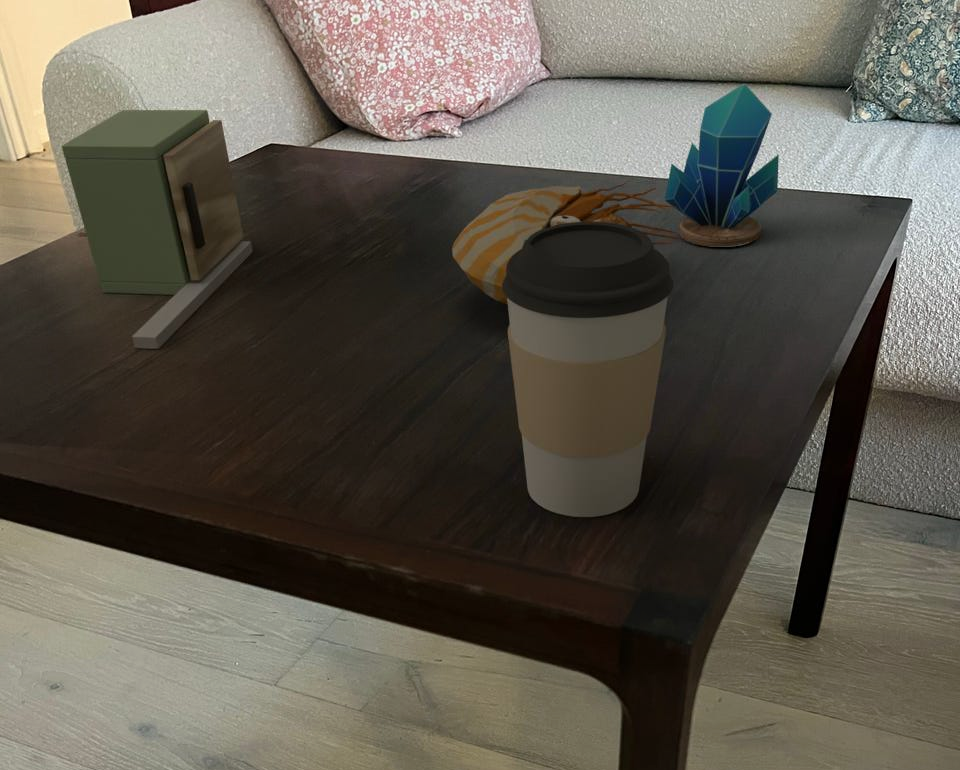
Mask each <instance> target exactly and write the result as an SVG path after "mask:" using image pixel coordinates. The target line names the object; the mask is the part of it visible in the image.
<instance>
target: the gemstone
mask: <svg viewBox="0 0 960 770" xmlns="http://www.w3.org/2000/svg"><path fill="white" fill-rule="evenodd" d="M702 115H703V116H702V120H701V123H700V128H699V140H698V141H699V142H698V148H697V147H696V145H695V144H694V142H691V145H690V149H689V151H688V154H687V158H686V161H685V165H684V169H683V171H682V169H679V167H677V166H676V165H674V164H673V163H671V165H670V170H669V175H668V180H667V185H666V190H665V195H664V200H663V201H665V202H666V203H668V204H669V206H674V207H676V208H677V209H676V210H677V211H679V212H680V213H681V214H682V215H684V216H685V217H686V218H684V219H683V220H682V221H681V222H680V223H679V229H678V233H679V236H680V238H681V239H683V238H684V239H685V240H687V241H689V242H692V243H695V244H698V245H704V246H715V247H716V246H721V247H722V246H732V245H733V246H734V245H739V244H744V243H747V242H751V241H753V240H755V239H756V238H757V239H758V238H759V237H760V236H759V235H761V230H762V229H761V228H762V225H761V224H760V222H759V221H758V220H757V219H755V218H754V217H752V216H751V215H752V214H753V213H755V212H756V211H757V210H759V209H760V208H761V207H762V206H763V204H765V202H766V201H768V200H769V199H770V198H772V197H773V196H774V195H776V194H777V193H778V189H779V188H778V186H779V185H778V184H779V161H780V158H779V157H780V156H779V155H780V154H777V155H776V156H774V157H773V158H772V159H771V160H769V161H768V162H767V163H766V164H764V165H762V167H761V168H759V169H758V170H757V171H756V172H755V173H753V174H752V175H750V177H749V174H750V173H751V170H752V167H753V165H754V164H755V161H756V159H757V156H758V154H759V152H760V149H761V146H762V143H763V140H764V137H765V135H766V132H767V130H768V127H769V124H770V121H771V118H772V115H773V113H772V112H771V111H770V110H769V109H768V108H767V106H766V105H765V104H764V103H763V102H762V101H761V100H760V99H759V98H758V97H757V95H756V94H755V93H754V92H753V91H752V90H751V89H750V88H749V87H748V86H747V84H746V83H742V84H741V85H739V86H738V87H736V88H735V89H732V90H731V91H729V92H728V93H727V94H725V95H723V96H722V97H720V98H718V99H717V100H715V101H714V102H712V103H711V104H709V105H707V106H706V107H704V110H703V114H702ZM758 236H759V237H758ZM684 239H683V240H684ZM757 239H756V240H757ZM685 240H684V241H685ZM756 240H755V241H756ZM687 241H686V242H687ZM689 242H688V243H689Z"/></svg>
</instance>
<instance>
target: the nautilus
mask: <svg viewBox="0 0 960 770" xmlns="http://www.w3.org/2000/svg"><path fill="white" fill-rule="evenodd" d="M630 181H631V180H629V179H628V180H626V181H624V182H623V183H622V184H618V185H616V186H613V187H610V188H599V189H596V190H592V191H587V192H582V189H581V186H560V185H553V186H550V187H546V188H532V189H526V190H520V191H516V192H511V193H507V194H506V195H503V196H502V197H500V198H499V199H497V200H495V201H493V202H491V203H490V204H489V205H488V206H487V207H486V208H485V209H484V210H483V211H482V212H481V213H480V214H478V216H476V217H475V218H473V220H471V221H470V222H469V223H468V224H467V225H466V226H465V227H464V228H463V229H462V231H461V232H460V233H459V234H458V236H457V238H456V239H455V241H454V242H453V245H452V247H451V251H452V257H453V259H454V260H455V261H456V263H457V265H459V267H460V268H461V269H462V271H463V272H464V274H465V275H466V277H467V278H468V280H469V281H470V282H471V283H472V284H473V285H475V286H476V287H477V288H478V289H479V290H481V291H482V292H483V293H484V294H485V295H486V296H489V297H490V298H492V299H494V300H495V301H497V302H500V303H502V304H504V305H507V306H508V302H507V297H506V296H505V294H504V292H503V290H502V283H503V280H504V279H505V277H506V265H507V263H508V261H509V260H510V258H511V257H512V256H513V255H514V254H515V253H516V252H517V251H519V250H520V249H522V247H523V244H524V241H525V239H526V240H527V239H528V238H529V237H530V236H531V235H532V234H534V233H535V232H537V231H539V230H542V229H544V228H547V227H551V226H554V225H559V224H564V223H572V222H607V223H615V224H620V225H625V226H629V227H632V228H633V227H638V228H643V229H648V230H655V231H660V232H666V233H671V234H672V233H673V234H677V232H676V231H674V230H670V229H665V228H661V227H656V226H649V225H645V224H640V223H635V222H631V223H629V222H628V221H626V220H625V219H624V218H622V216H619V215H617V214H616V213H618V212H619V211H625V210H644V211H652V212H656V213H659V214H661V213H662V212H661V211H660V210H658V209H655V208H653V209H652V208H648V207H657V208H660V209H662V210H664V211H665V212H667V213H669V211H668V209H666V208H672V209H675V210H677V208H676V207H674V206H672V205H670V204H669V205H668V204H662V203H656V202H654V201H651V200H648V199H645V198H643V197H640V196H644V195H646V194H648V193H650V192H651V191H654V190H656V189H657V188H656V187H653V188H650V189H648V190H646V191H644V192H641V193H634V194H629V193H626V192H612V193H610V194H605V193H600V192H602V191H605V192H609V191H612V190H615V189H617V188H619V187H623V186H624V185H625V184H627V183H628V182H630ZM616 196H618V197H619V196H620V198H617V197H616ZM629 199H634V200H638V201H640V202H645V203H630V204H628V205H624V206H622V205H620V203H616V204H612V205H610V206H607V207H605V208H603V209H601V208H602V207H603V206H604V204H605V203H607V202H613V201H614V202H622V201H626V200H629ZM599 209H601V210H599ZM596 210H598V211H596ZM594 211H595V212H594ZM640 231H641V232H643V233H645V234H646V235H647V236H655V237H661V238H668V239H669V238H670V239H675V240H682V237H678V236H675V235H674V236H673V235H669V234H663V233H656V232H650V231H645V230H640ZM677 243H678V242H677ZM677 243H676V242H670V241H667V242H666V241H652V244H653V245H677Z"/></svg>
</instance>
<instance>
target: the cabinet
mask: <svg viewBox="0 0 960 770" xmlns="http://www.w3.org/2000/svg"><path fill="white" fill-rule="evenodd" d="M208 123H210V116H209V112H208V110H207V109H122V110H120V111H118V112H117V113H115V114H113V115H112V116H110V117H108V118H107V119H105V120H103V121H101V122H100V123H98V124H97V125H95V126H93V127H91V128H90V129H88V130H86V131H84V132H83V133H81V134H78V136H76V137H74V138H73V139H71V140H69V141H67V142H65V143H64V144H62V145H61V149H62V153H63V156H64V160H65V163H66V164H65V165H66V168H67V169H68V170H67V171H68V174H69V178H70V181H71V185H72V189H73V191H74V195H75V200H76V203H77V206H78V210H79V214H80V216H81V220H82V224H83V228H84V231H85V235H86V238H87V242H88V245H89V248H90V249H89V250H90V252H91V257H92V260H93V263H94V266H95V270H96V273H97V277H98V280H99V284H100V289H101V290H102V291H101V292H102V293H103V294H104V293H106V294H130V295H131V294H133V295H134V294H136V295H137V294H138V295H162V296H163V295H166V296H172V297H171V298H170V299H169V300H168V301H167V302H166V303H165V304H164V305H163V306H162V307H161V308H159V310H157V311H156V312H155V314H153V315H152V316H151V317H150V318H149V319H148V320H147V321H146V322H145V323H144V324H143V325H142V326H141V327H140V328H139V329H138V330H137V331H136V332H135V333H134V334H132V336H131V339H132V342H133V346H134V349H143V350H144V349H145V350H146V349H147V350H159V349H160V348H161V347H162V346H163V345H164V344H165V343H167V341H168V340H169V339H170V338H171V337H172V336H173V335H174V334H175V333H176V332H177V331H178V329H180V328H181V327H182V326H183V324H184V323H185V322H186V321H187V320H188V319H189V318H191V316H192V315H193V314H195V312H196V311H197V310H198V309H199V308H200V307H201V306H202V305H203V304H204V303H205V302H206V301H207V300H208V299H209V298H210V297H211V296H212V295H213V294H214V292H216V290H218V288H219V287H220V286H221V285H222V284H223V283H225V282H226V280H227V279H228V278H229V277H230V276H231V275H233V273H234V272H235V271H236V270H237V269H238V268H239V267H240V266H241V265H242V264H243V263H244V262H245V261H246V260H247V259H248V258H249V257H250V256H251V254H253V252H254V250H253V245H252V242H251V241H248V240H247V241H245V240H244V241H243V240H240V241H239V242H238V243H237V244H236V245H235V246H234V247H233V248H232V249H231V250H230V251H229V252H228V253H227V254H226V255H225V256H224V257H223V258H222V259H221V260H220V261H219V262H218V263H217V264H216V265H215V266H214V267H213V268H212V269H211V270H210V271H209V272H208V273H207V274H206V275H205V276H203V277H202V278H201V279H200V280H191V277H190V272H189V268H188V264H187V259H186V255H185V250H184V246H183V241H182V237H181V232H180V228H179V224H178V219H177V215H176V210H175V206H174V201H173V197H172V192H171V188H170V184H169V179H168V175H167V170H166V166H165V161H164V157H163V155H164V154H166V153H167V152H169V151H170V150H171V149H173V148H174V147H176V146H177V145H179V144H180V143H181V142H183V141H184V140H186V139H187V138H189V137H190V136H191V135H193V134H194V133H196V132H197V131H198V130H200V129H201V128H203V127H204V126H206V125H207V124H208Z"/></svg>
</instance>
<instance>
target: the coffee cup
mask: <svg viewBox="0 0 960 770" xmlns="http://www.w3.org/2000/svg"><path fill="white" fill-rule="evenodd" d="M641 231H642V230H639V229H637V228H634V227H633V226H632V227H629V226H625V225H620V224H615V223H607V222H572V223H564V224H559V225H554V226H551V227H547V228H544V229H542V230H539V231H537V232H535V233H534V234H532V235H531V236H530V237H529V238H528V239H527V240H526V239H525V241H524V244H523V247H522V249H520V250H519V251H517V252H516V253H515V254H514V255H513V256H512V257H511V258H510V260H509V261H508V263H507V265H506V277H505V279H504V280H503V283H502V290H503V292H504V294H505V296H506V297H507V302H508V305H507V311H508V319H509V325H508V328H507V338H508V345H509V355H510V364H511V372H512V379H513V389H514V396H515V405H516V413H517V421H518V429H519V431H520V434H521V438H522V440H521V441H522V449H523V459H524V466H525V467H524V470H525V477H526V486H527V487H526V488H527V492H528V494H529V496H530V498H531V499H532V500H533V501H534V503H535V504H537V505H538V506H540V507H542V508H543V509H545V510H547V511H549V512H552V513H554V514H559V515H562V516H566V517H574V518H595V517H601V516H606V515H610V514H614V513H617V512H619V511H621V510H623V509H625V508H626V507H628V506H629V505H631V504H632V503H633V502H634V501H635V500H636V498H637V497H638V495H639V490H640V484H641V478H642V472H643V466H644V465H643V464H644V457H645V451H646V444H647V437H648V435H649V433H650V431H651V427H652V426H651V425H652V420H653V415H654V414H653V413H654V407H655V401H656V395H657V389H658V384H659V377H660V371H661V365H662V357H663V352H664V346H665V339H666V334H667V333H666V332H667V326H666V325H665V319H666V318H665V317H666V310H667V305H668V298H669V295H671V293H672V292H673V290H674V286H675V282H674V279H673V275H672V274H671V272H670V264H669V262H668V259H667V258H666V257H665V256H664V255H663V254H662V253H661V252H660V251H659V250H658V249H656V248H655V246H654V244H652V242H653V241H652V239H651V238H650V237H649V235H647V234H645V233H643V232H641Z"/></svg>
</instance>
